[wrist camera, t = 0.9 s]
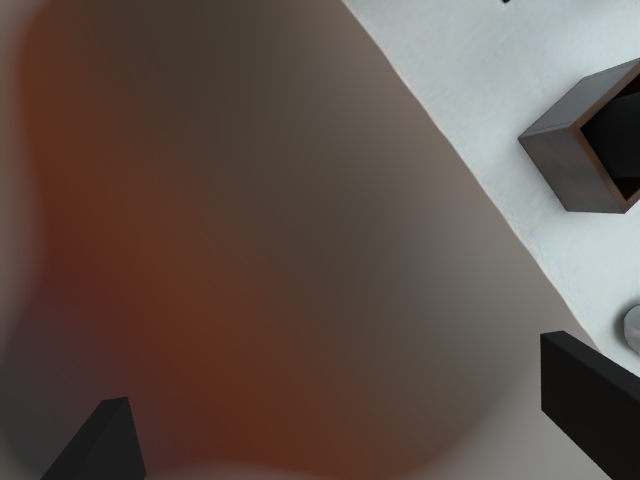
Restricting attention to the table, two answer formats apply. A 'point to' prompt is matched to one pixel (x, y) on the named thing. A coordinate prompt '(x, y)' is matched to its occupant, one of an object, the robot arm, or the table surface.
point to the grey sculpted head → (633, 328)
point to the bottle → (617, 136)
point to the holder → (583, 145)
